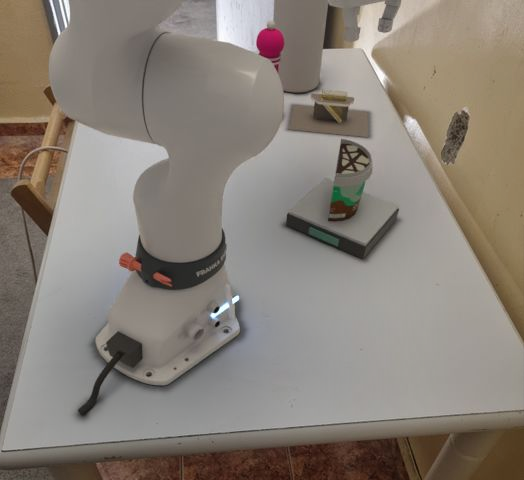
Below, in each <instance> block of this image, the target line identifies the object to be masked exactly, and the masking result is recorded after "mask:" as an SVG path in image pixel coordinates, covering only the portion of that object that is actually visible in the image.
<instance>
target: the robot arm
mask: <svg viewBox="0 0 524 480" xmlns="http://www.w3.org/2000/svg"><path fill="white" fill-rule="evenodd" d="M67 2H68V6H69V7H68V8H69V21H68V24H67V26H66V27H65V28H64V29H63V30H62V31H61V32H60V33H59V35H58V36H57V38H56V39H55V41H54V42H53V45H52V47H51V49H50V54H49V59H48V81H49V86H50V88H51V92H52V95H53V97H54V100H55V103H56V104H57V105H58V107H59V109H60V111H61V112H62V113H63V114H64V115H65V116H66V117H67V118H68V119H70V120H72V121H75V122H77V123H79V124H81V125H83V126H85V127H88V128H90V129H92V130H94V131H98V132H100V133H101V134H105V135H107V136H112V137H117V138H120V139H127V140H131V141H137V142H141V143H146V144H147V143H148V144H151V145H156V146H159V147H162V148H163V149H164V150H165V151H166V153H167V156H168V158H165V159H162V160H159V161H157V162H155V163H153V164H152V165H150V166H149V167H147V168H146V169H145V170H144V171H142V173H140V175H139V176H138V178H137V180H136V182H135V184H134V188H133V194H132V200H133V206H134V212H135V216H136V222H137V228H138V233H139V234H138V239H137V243H136V250H135V256H133V255H132V254H131V253H128V252H124V253H122V254H121V255H120V257H119V260H118V264H119V266H120V267H122V268H124V269H127V270H128V272H129V271H130V274H129V275H128V277H127V279H126V280H125V281H124V284H123V286H122V288H121V289H120V291H119V292H118V294H117V296H116V297H115V299H114V301H113V302H112V304H111V306H110V307H109V310H108V313H107V314H108V315H107V323H106V324H105V326H104V327H103V328H102V329H101V330H100V332H99V333H98V334H97V335H96V336H95V340H94V341H95V345H96V349H97V351H98V353H99V355H100V356H101V358H102V359H104V361H105V362H107V364H106V365H105V366H104V367H103V369H102V370H101V372H100V373H99V375H98V376H97V378H96V380H95V381H94V384H93V387H92V391H91V394H90V396H89V398H88V400H87V401H86V402H85V403H84V404H83V405H81V407H79V408H78V409H77V412H78V413H80V415H82V416H84V414H85V413H86V412H88V411H89V410H90V409H91V408H92V407H93V406H94V405H95V404H96V402H97V400H98V398H99V394H100V390H101V387H102V385H103V383H104V381H106V378H107V377H108V375H109V374H110V373H111V371H112V370H113V369H115V370H117V371H118V372H120V373H122V374H124V375H125V376H127V377H129V378H131V379H133V380H135V381H137V382H140V383H143V384H146V385H152V386H167V385H169V384H171V383H172V382H174V381H175V380H177V379H178V378H179V377H181V376H182V375H184V374H185V373H187V372H188V371H189V370H191V369H192V368H194V367H195V366H196V365H198V364H199V363H200V362H202V361H204V360H205V359H206V358H208V357H209V356H210V355H212V354H213V353H215V352H216V351H218V350H219V349H221V348H222V347H223V346H225V345H226V344H227V343H229V342H231V340H233V339H234V338H236V337H238V335H239V334H240V332H241V327H240V322H239V320H238V319H237V317H236V304H235V303H236V302H238V301H239V300H240V296H239V295H236V296H233V294H232V288H231V283H230V280H229V276H228V272H227V269H226V264H225V263H226V260H227V242H226V234H225V230H224V228H223V203H224V202H223V201H224V192H225V187H226V185H227V183H228V180H229V179H230V177H231V176H232V174H233V173H234V172H235V170H236V169H237V168H239V167H240V166H241V165H242V164H243V163H245V162H247V161H248V160H250V159H252V158H254V157H257V156H258V155H259V154H261V153H262V152H264V151H265V149H266V148H268V146H269V145H270V144H271V143H272V142H273V140H274V138H275V137H276V135H277V134H278V131H279V129H280V127H281V124H282V120H283V118H284V111H285V95H284V91H283V88H282V84H281V80H280V77H279V75H278V73H277V71H276V69H275V67H274V65H273V64H272V62H271V61H270V60H269V59H267V58H265V57H263V56H260V55H258V54H259V53H256V52H253V51H251V50H249V49H246V48H244V47H241V46H238V45H236V44H233V43H231V42H228V41H221V40H215V39H210V38H209V39H208V38H204V37H203V38H202V37H196V36H190V35H184V34H177V33H173V32H170V31H167V30H164V29H163V28H162V27H161V26H160V24H161V23H162V24H163V22H164V21H166V20H167V19H168V18H169V17H170V16H172V15H173V14H174V13H175V12H176V11H177V10H179V8H180V7H181V6H182V4H183V3H184V2H185V0H68V1H67ZM382 2H384V5H385V7H384V8H383V9H384V10H383V12H382V15H381V17H379V18H378V25H377V32H379V33H383V34H386V33H390V32H391V31H392V30H393V26H394V20H395V18H396V16H397V14H398V12H399V10H400V7H401V6H402V5H401V4H402V0H328V6H330V7H335V8H339V9H341V17H342V21H343V25H344V32H343V33H344V34H343V40H344V41H346V42H349V43H353V42H357V41H359V39H360V34H361V26H359V25H358V16H359V15H360V13H361V12H360V11H361V7H363V6H368V5H372V4H377V3H382Z"/></svg>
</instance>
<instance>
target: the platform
mask: <svg viewBox="0 0 524 480" xmlns="http://www.w3.org/2000/svg"><path fill="white" fill-rule="evenodd" d="M310 100H312V101H313V102H314V104H313V105H314V106H304V105H293V107H292V112H291V118H290V123H289V128H288V130H290V131H299V132H300V131H301V132H312V133H320V134H331V135H341V136H351V137H360V138H368V137H369V124H368V123H369V117H368V115H369V114H368V113H369V112H366V111H358V110H349V107H351V105H353V104H354V103H355V97H353V96H348V92H344V91H342V90H334V91H333V90H331V89H322V90H321V93H311V94H310Z"/></svg>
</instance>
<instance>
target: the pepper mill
mask: <svg viewBox="0 0 524 480" xmlns="http://www.w3.org/2000/svg"><path fill="white" fill-rule="evenodd" d="M255 45H256V48H257V50H258V51H259V52H258V53H257V54H258V55H260V56H263V57H265V58H267V59H269V60H270V61H271V62H272V64H273V65H274V67H275V69H276V71H277V73H278V67H279V63H280V62H281V54H280V52H281V51H282V50H283V48H284V37H283V34H282V33H281V32H280V31H279V30H278V29H275V22H274V21H273V19H270V20H269V21H267V23H266V28H263V29H261V30H260V31H259V32H258V34H257V36H256V41H255Z"/></svg>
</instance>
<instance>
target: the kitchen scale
mask: <svg viewBox="0 0 524 480" xmlns="http://www.w3.org/2000/svg"><path fill="white" fill-rule="evenodd" d="M333 186H334V180H333V179H330V178H327V177H324V178H323V179H322V180H321V181H320V182H319V183H318V184H316V186H315V187H313V188H312V189H311V190H310V191H309V192H308V193H307V194H306V195H305V196H303V198H301V199H300V200H299V201H298V202H297V203H296V204H295V205H294V206H293V207H291V208H290V209H289V211H288V212H287V213H286V221H285V222H286V223H285V226H286V227H288V228H290V229H293V230H295V231H297V232H299V233H302V234H304V235H306V236H309V237H311V238H314V239H316V240H318V241H320V242H322V243H325V244H327V245H330V246H332V247H334V248H336V249H339V250H341V251H343V252H346V253H348V254H350V255H352V256H355V257H357V258H360V259H362V260H364V259H365V258H366V256H367V255H368V254H369V253H370V252H371V250H373V248H374V247H375V246H376V244H377V243H378V242H379V241H380V240H381V239H382V238H383V236H384V235H385V234H386V233H387V231H388V230H390V228H391V227H392V226H393V224H395V222H396V221H397V219H398V215H399V212H400V207H399V206H400V205H398V204H395V203H392V202H390V201H387V200H384V199H382V198H380V197H377V196H374V195H372V194H370V193H366V192H364V191H363V192H362V196H361V199H360V202H359V206H358V209H357V212H356V214H355V215H354V216H353V217H351V218H350V219H347V220H344V221H335V222H334V221H328V217H329V211H330V204H331V198H332V192H333Z"/></svg>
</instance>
